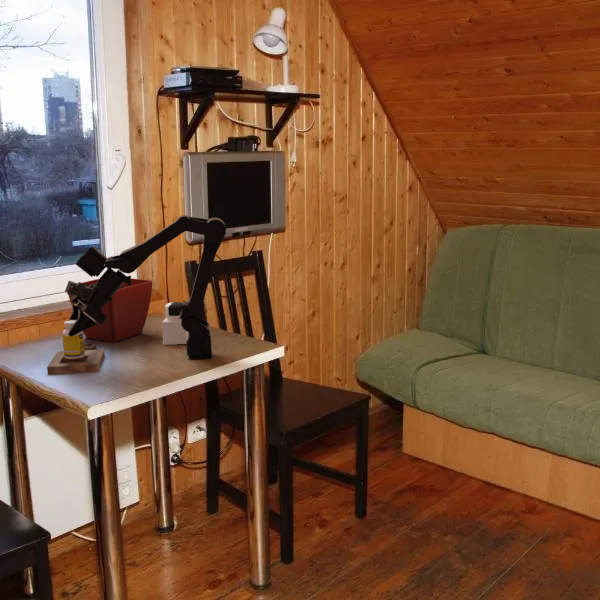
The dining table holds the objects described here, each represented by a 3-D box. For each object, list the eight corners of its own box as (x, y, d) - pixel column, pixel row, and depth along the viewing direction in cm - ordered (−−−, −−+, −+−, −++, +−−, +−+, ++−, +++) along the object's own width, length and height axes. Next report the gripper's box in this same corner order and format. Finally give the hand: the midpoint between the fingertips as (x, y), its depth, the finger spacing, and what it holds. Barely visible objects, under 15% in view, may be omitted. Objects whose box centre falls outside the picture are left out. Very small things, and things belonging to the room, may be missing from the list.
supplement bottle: (84, 358, 208) (80, 323, 205) (63, 360, 207) (59, 324, 205) (86, 353, 213) (82, 318, 211) (65, 354, 212) (62, 320, 210)
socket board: (104, 356, 220) (104, 349, 219) (98, 371, 205) (97, 364, 205) (57, 358, 218) (57, 351, 218) (47, 374, 204) (47, 366, 203)
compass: (100, 350, 227) (98, 325, 225) (74, 355, 222) (72, 330, 220) (88, 344, 233) (86, 321, 231) (63, 349, 228) (61, 325, 226)
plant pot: (68, 339, 239) (64, 285, 236) (113, 325, 255) (110, 275, 252) (113, 347, 229) (109, 291, 226) (157, 332, 245) (154, 280, 242)
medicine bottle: (190, 338, 237) (189, 300, 235) (186, 344, 230) (184, 305, 228) (167, 338, 238) (165, 300, 235) (162, 345, 231) (160, 305, 228)
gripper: (75, 265, 215) (37, 308, 212) (89, 274, 198) (49, 322, 196) (105, 289, 220) (69, 332, 217) (122, 301, 204) (83, 347, 201)
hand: (67, 333), depth 208 cm, fingers closed on supplement bottle, 5 cm apart
